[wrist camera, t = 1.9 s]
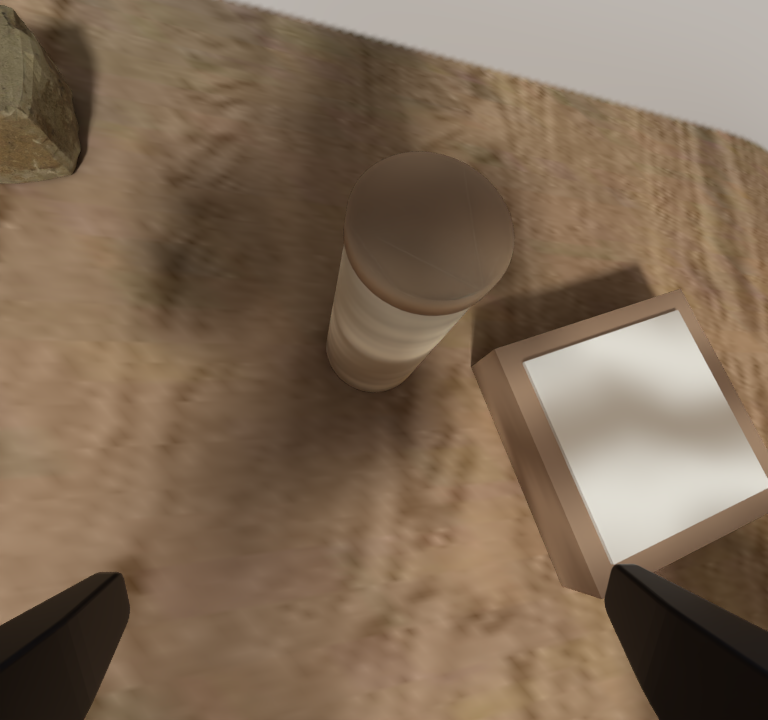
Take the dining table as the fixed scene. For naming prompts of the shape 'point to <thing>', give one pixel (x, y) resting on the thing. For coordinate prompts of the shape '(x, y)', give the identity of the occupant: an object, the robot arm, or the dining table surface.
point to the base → (626, 439)
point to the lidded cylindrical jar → (412, 264)
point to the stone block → (33, 109)
